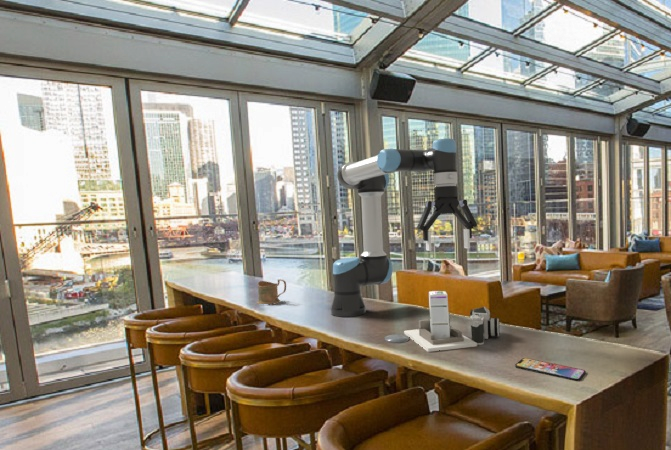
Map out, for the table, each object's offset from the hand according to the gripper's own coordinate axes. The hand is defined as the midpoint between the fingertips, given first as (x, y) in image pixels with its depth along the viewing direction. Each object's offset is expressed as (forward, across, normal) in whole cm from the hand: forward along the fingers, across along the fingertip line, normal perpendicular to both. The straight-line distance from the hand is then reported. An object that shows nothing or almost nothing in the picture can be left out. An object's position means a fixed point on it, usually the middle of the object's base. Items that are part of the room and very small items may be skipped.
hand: (448, 249), depth 136 cm
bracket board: (+29, -6, -3) cm, 30 cm away
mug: (+30, -59, +77) cm, 102 cm away
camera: (+29, +9, -6) cm, 31 cm away
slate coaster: (+29, -19, +1) cm, 35 cm away
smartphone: (+29, +10, -35) cm, 47 cm away
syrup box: (+28, -6, -5) cm, 29 cm away
